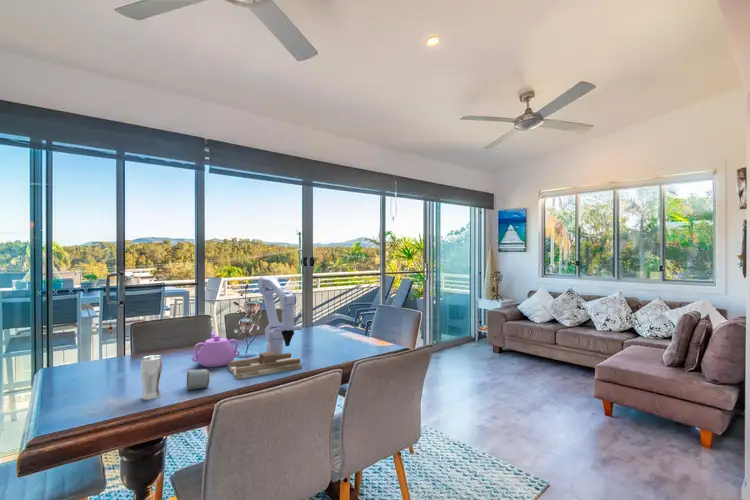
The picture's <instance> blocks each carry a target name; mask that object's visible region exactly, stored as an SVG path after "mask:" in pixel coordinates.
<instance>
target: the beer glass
mask: <svg viewBox="0 0 750 500" xmlns="http://www.w3.org/2000/svg"><path fill="white" fill-rule="evenodd" d="M162 359H163V357H162V356H161V355H157V354H156V355H148V356H144V357H142V358H141V363H140V378H141V382H142V394H141V400H143V401H152V400H155V399H158V398H160V397H161V392H160V382H161V378H162V371H163V361H162ZM159 396H160V397H159ZM151 399H152V400H151Z"/></svg>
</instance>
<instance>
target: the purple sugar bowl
mask: <svg viewBox="0 0 750 500" xmlns="http://www.w3.org/2000/svg"><path fill="white" fill-rule="evenodd" d="M231 342H235V347H234V346H233V345H232V343H231ZM198 346H201V347H200V349H199V351H197V350H198V349H197V348H198ZM238 346H239V343H238V340H237V339H235V338H232V339H228V338H226V337H221V335H218V334H217V335H216V332H214V331H211V332H210V338H209V339H208V338H207V339H206V340H205V341H204V342H201V341H200V342H198V343H195V345H194V347H193V351H194V355H193V356H192V358H191V361H192V362H193V363H194V362H195V363H197V362H198V363H199V364H200V365H201V366H202V367H206V368H215V367H216V368H218V367H223V366H228V365H229V361H234V359H235V357H239V355H240V351H239V350H237V349H238Z"/></svg>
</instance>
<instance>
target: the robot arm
mask: <svg viewBox="0 0 750 500" xmlns="http://www.w3.org/2000/svg"><path fill="white" fill-rule="evenodd" d="M257 286H258V291H259V295H262V298H263V302H264V307H265V312H266V316H267V321H268V325H267V326H266V327H265V328H264V335H265V336H264V337H265V339H266V341H267V343H266V352H273V353H275V354H276V355H278V354H284V353H283V352H284V349H283V348H284V345H285V347H289V346H291V345H290V344H291V341H292V339H293V337H294V335H295V331H303V326H302V325H294V324H295V323H294V322H295V320H294V319H295V305H296V304H297V295H296V294H295V293H290V291H289V290H288V289H287V288H286V286H281V284H280V279H279V277H278V276H260V277H259V279H258V282H257ZM274 294H275V296H276V297H277V298H278V299H279V301H280V308H281V311H282V312H281V322H280V321H279V317H278V313H277V309H276V306H275V300H274V297H273V295H274Z"/></svg>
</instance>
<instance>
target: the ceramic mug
mask: <svg viewBox="0 0 750 500" xmlns="http://www.w3.org/2000/svg"><path fill="white" fill-rule="evenodd" d="M186 374H187V375H186V391H190V390H197V389H204V388H207V387H209V384H210V370H209V369H206V368H203V369H188V370H187V373H186Z"/></svg>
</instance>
